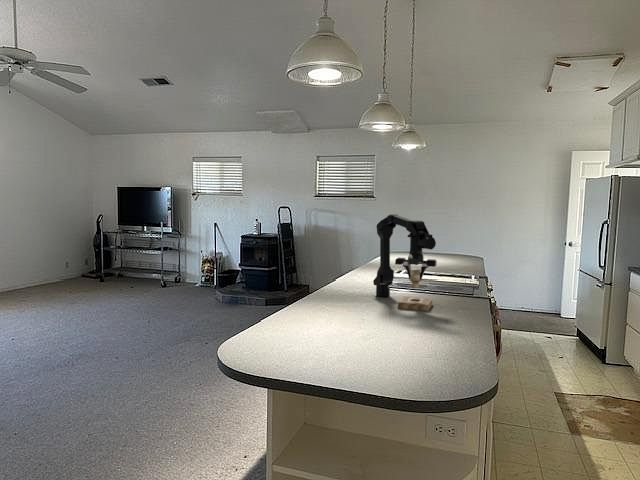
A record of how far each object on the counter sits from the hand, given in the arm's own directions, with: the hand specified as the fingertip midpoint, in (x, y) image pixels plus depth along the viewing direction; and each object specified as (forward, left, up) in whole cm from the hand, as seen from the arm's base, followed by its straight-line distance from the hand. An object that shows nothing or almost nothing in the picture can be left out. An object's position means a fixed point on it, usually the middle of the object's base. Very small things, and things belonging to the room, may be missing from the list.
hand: (415, 279), depth 215 cm
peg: (0, 0, -4) cm, 4 cm away
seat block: (0, 0, -13) cm, 13 cm away
